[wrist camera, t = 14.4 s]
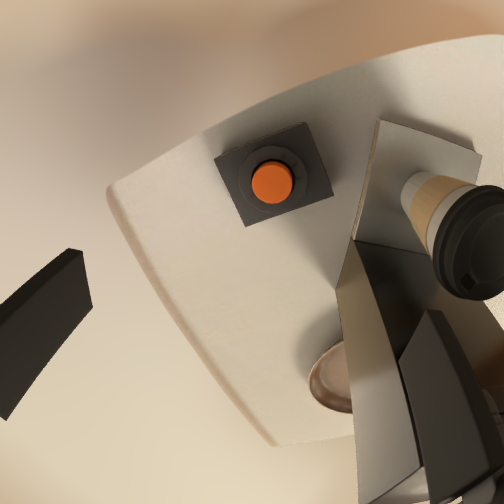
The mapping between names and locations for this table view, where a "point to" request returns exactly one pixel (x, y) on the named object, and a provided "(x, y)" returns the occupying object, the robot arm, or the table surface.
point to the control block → (279, 150)
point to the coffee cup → (459, 232)
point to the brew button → (272, 182)
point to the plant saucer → (331, 380)
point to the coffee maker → (402, 312)
